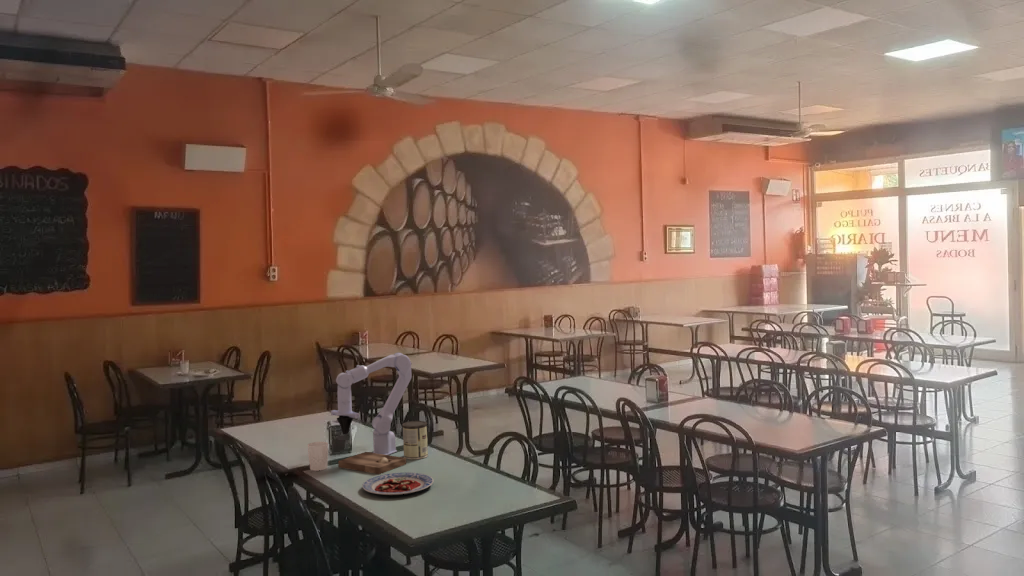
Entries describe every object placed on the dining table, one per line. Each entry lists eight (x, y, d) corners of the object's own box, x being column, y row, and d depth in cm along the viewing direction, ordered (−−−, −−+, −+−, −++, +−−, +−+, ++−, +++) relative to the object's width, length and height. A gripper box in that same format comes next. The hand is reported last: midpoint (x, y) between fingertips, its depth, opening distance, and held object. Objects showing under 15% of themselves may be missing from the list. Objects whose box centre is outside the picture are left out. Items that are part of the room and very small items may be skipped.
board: (365, 457, 320) (365, 451, 320) (406, 464, 309) (406, 457, 308) (338, 467, 307) (338, 461, 307) (379, 474, 295) (379, 467, 295)
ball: (389, 467, 305) (382, 465, 308) (391, 457, 305) (383, 455, 308) (382, 468, 302) (375, 466, 304) (384, 458, 302) (377, 456, 304)
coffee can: (406, 453, 326) (405, 420, 325) (430, 453, 325) (429, 420, 324) (400, 459, 315) (399, 426, 315) (425, 459, 314) (423, 426, 314)
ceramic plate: (420, 501, 262) (420, 492, 262) (351, 498, 267) (350, 490, 267) (442, 479, 287) (442, 471, 287) (378, 477, 292) (377, 469, 292)
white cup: (325, 471, 302) (324, 446, 301) (306, 471, 302) (305, 446, 301) (330, 465, 309) (330, 441, 309) (311, 466, 310) (310, 441, 309)
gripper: (325, 401, 320) (326, 433, 320) (350, 404, 312) (351, 437, 313) (337, 399, 326) (338, 430, 326) (362, 401, 318) (363, 433, 319)
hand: (345, 433), depth 320 cm, fingers closed
